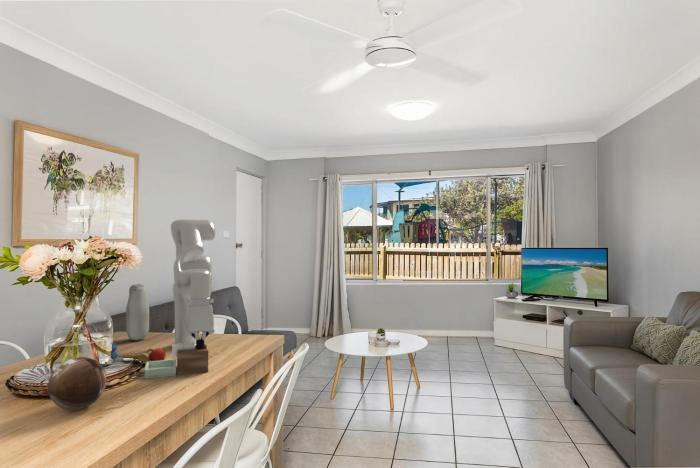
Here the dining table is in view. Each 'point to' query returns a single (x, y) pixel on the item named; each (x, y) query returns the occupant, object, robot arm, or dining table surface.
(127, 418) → the dining table surface
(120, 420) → the dining table surface
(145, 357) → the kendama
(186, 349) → the chip
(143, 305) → the grey bottle vase
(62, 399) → the wooden sphere
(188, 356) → the slot block
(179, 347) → the chip
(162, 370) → the tray
